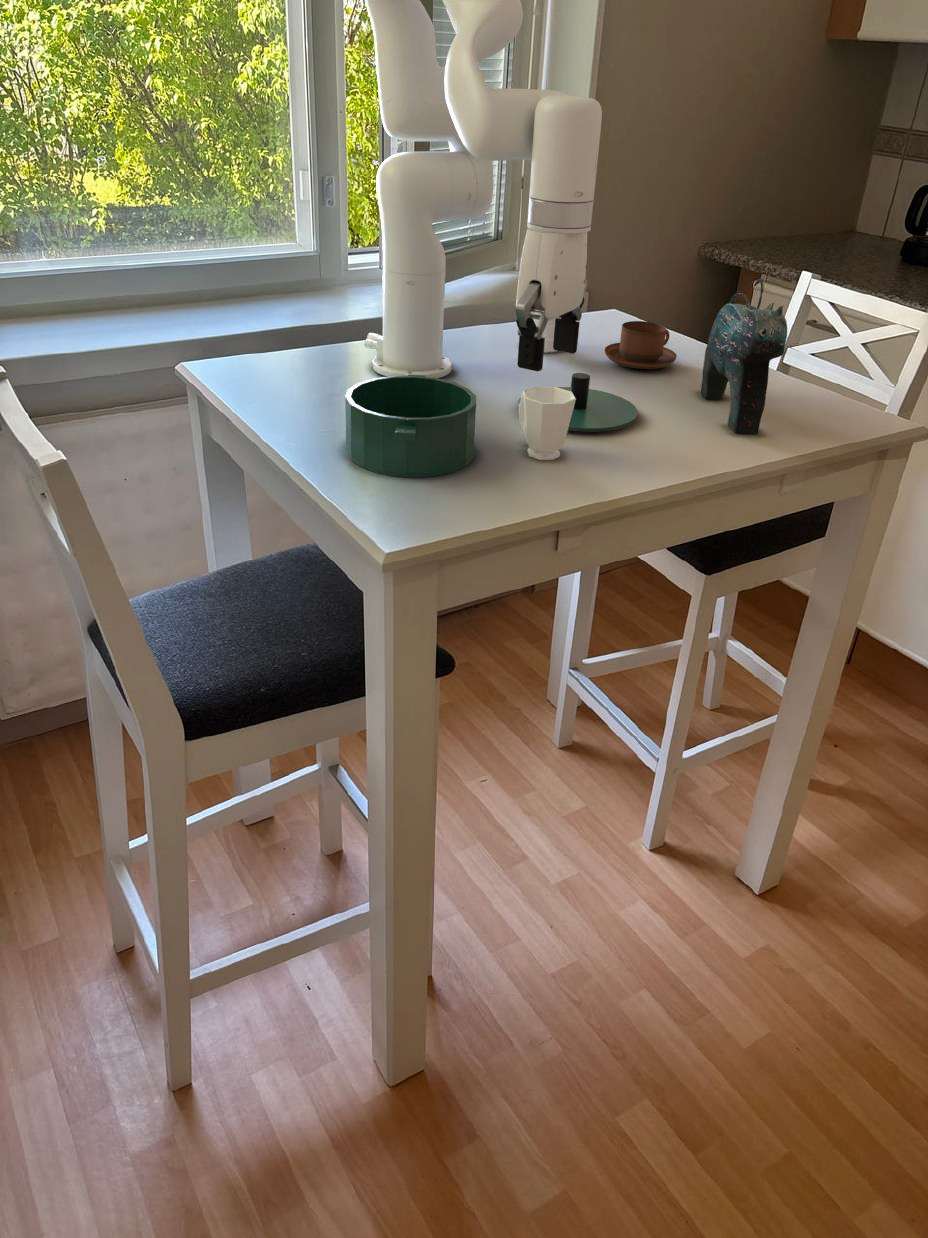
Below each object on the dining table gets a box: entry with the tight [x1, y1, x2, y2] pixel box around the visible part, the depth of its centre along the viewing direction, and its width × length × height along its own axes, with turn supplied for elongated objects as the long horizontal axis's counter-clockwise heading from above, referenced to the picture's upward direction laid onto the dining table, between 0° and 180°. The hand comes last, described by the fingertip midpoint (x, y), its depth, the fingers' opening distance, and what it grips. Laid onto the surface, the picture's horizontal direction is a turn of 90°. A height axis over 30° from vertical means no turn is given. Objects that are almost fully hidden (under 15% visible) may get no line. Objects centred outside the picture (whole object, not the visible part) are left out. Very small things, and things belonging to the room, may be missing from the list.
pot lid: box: [517, 372, 639, 433], centre depth 141 cm, size 17×17×6 cm
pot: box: [344, 374, 477, 478], centre depth 126 cm, size 16×22×8 cm
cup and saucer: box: [604, 320, 678, 370], centre depth 164 cm, size 12×12×6 cm
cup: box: [518, 386, 576, 461], centre depth 128 cm, size 7×10×8 cm
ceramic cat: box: [700, 278, 788, 435], centre depth 140 cm, size 20×6×20 cm, turn 5°
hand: (547, 359), depth 124 cm, fingers open, 9 cm apart
